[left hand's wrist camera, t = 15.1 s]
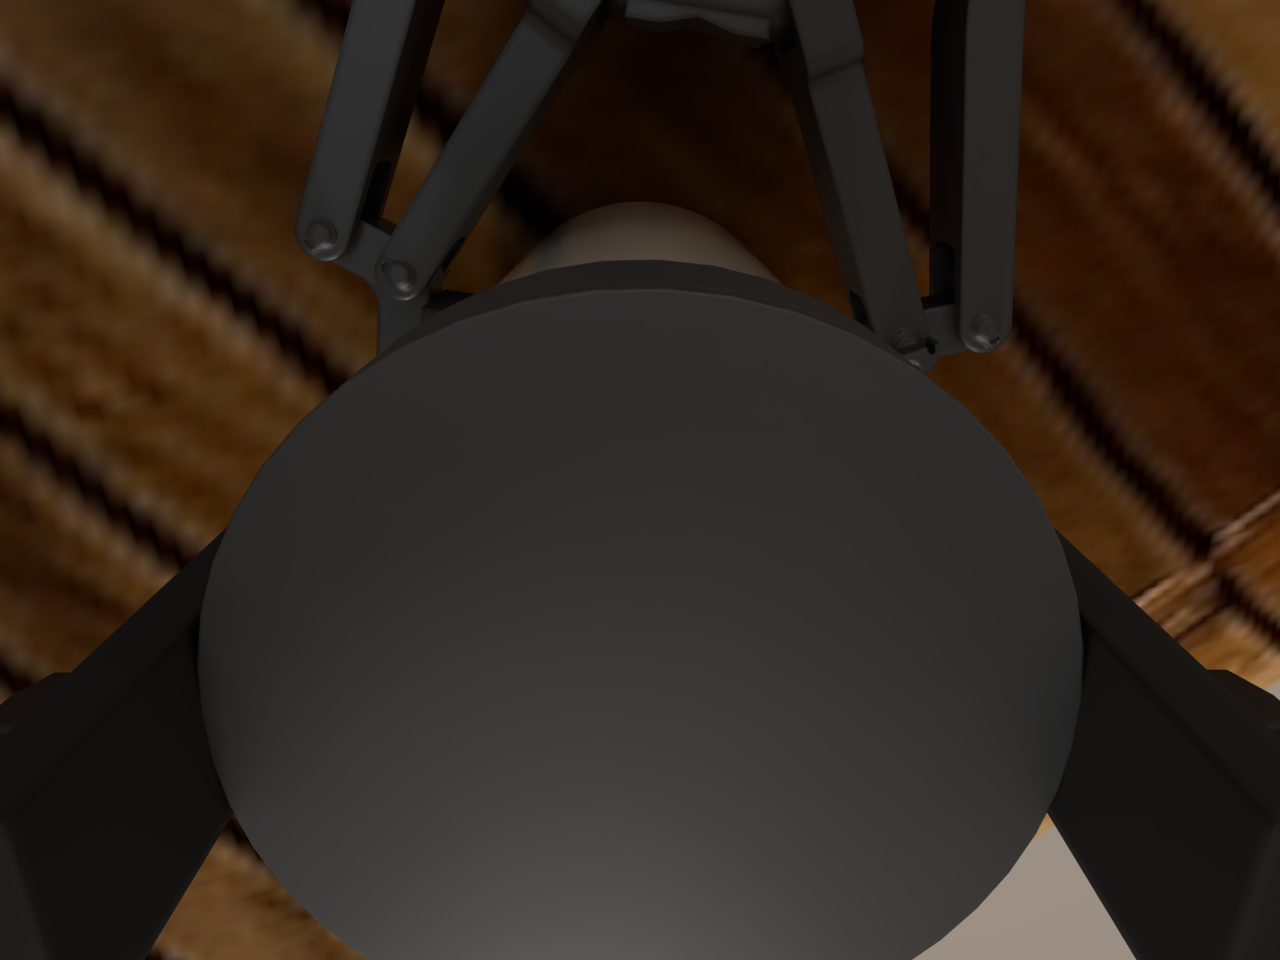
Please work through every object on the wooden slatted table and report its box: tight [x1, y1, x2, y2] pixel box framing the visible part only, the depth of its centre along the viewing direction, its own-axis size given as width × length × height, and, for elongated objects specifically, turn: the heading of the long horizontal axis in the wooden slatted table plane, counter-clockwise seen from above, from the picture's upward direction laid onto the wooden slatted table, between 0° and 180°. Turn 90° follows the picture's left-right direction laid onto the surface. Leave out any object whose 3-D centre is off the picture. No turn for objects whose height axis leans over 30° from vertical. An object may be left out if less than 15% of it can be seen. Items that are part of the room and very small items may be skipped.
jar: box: [497, 201, 783, 285], centre depth 20 cm, size 9×9×19 cm
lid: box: [197, 259, 1084, 960], centre depth 11 cm, size 10×10×2 cm
